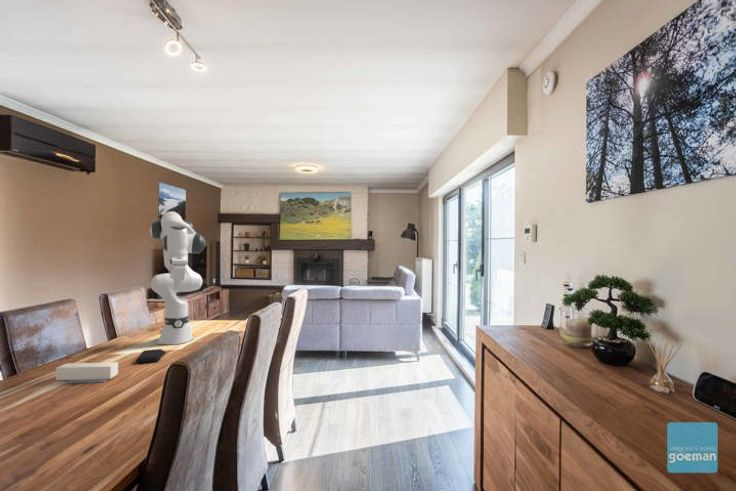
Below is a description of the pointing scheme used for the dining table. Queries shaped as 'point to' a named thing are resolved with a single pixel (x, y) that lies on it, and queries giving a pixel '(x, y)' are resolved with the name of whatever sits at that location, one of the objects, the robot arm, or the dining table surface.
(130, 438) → the dining table surface
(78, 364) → the cream block
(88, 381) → the slate mat
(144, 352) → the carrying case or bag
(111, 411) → the dining table surface
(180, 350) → the dining table surface
